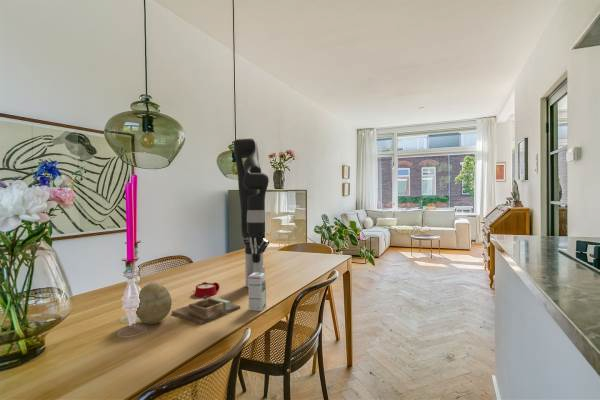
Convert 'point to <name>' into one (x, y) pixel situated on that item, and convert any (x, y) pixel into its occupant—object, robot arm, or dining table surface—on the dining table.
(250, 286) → the syrup box
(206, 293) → the alarm clock
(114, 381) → the dining table surface
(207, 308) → the housing
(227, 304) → the bar
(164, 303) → the fossilized egg
